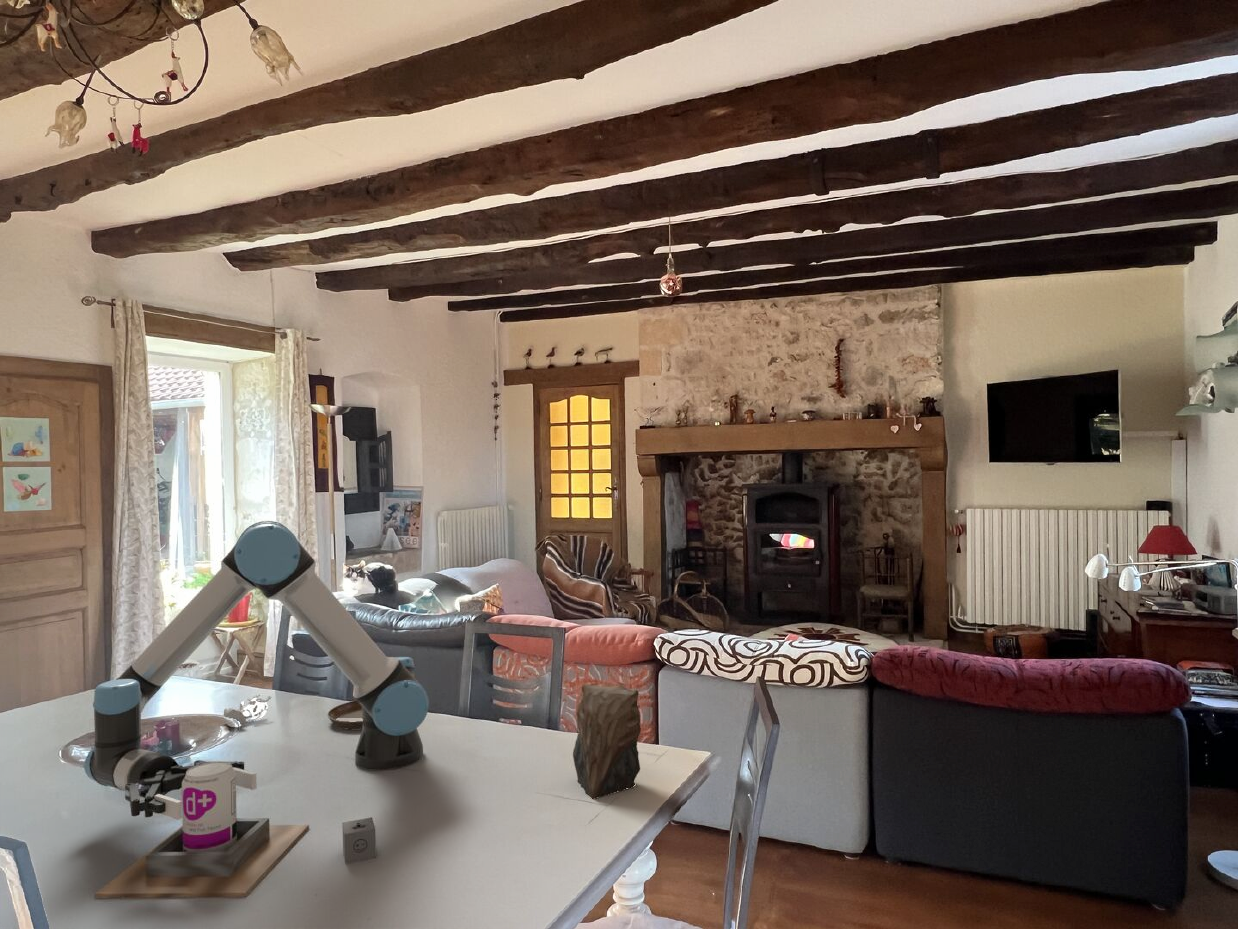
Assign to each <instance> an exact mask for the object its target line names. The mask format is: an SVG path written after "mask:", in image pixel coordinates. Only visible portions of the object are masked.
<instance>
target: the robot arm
mask: <svg viewBox="0 0 1238 929" xmlns="http://www.w3.org/2000/svg"><path fill="white" fill-rule="evenodd" d="M316 563H317V562H316V561H315V559H314V558H313V557H312V555H310V553H309V552H308V551H307V550H306V549H305V548H304V546H303V545H302V544H301V543H300V541H298V539H297V537H296V536H295V535H294V533H293V532H292V531H291V530H290V529H289V528H288V527H286V526H285V525H284V524H283V523H280V522H277V521H273V520H263V521H258V522H254V523H253V524H251V525H249V526H247V527H246V528H245V530H244V531H243V532H242V533H241V534H240V536H239V537H238V538H237V541H236V543H235V545H234V546H233V547H232V548H231V550H230V551H229V552H228V553H227V554H226V555H225V557H224V558H223V559H222V560H221V561H220V564H221V565H220V569H219V570H218V571H217V572H216V573H215V575H214V576H212V578H211V579H210V580H209V581H208V582H207V583H206V584H204V586H203V587H202V589H201V590H200V591H199V592H197V594H196V595H194V597H193V598H192V599H191V600H190V601H189V602H188V604H186V605H185V606H184V608H183V609H182V610H181V611H180V612H179V613H178V614H177V615H176V616H175V617H174V618H173V619H172V620H171V622H170V623H168V625H167V626H166V627H165V628H164V629H163V630H162V631H161V632H160V633H159V634H158V635H157V636H156V637H155V639H154V640H152V642H151V643H150V644H149V645H148V646H147V647H146V648H145V649H144V650H143V651H142V652H141V654H140V655H139V656H138V657H137V658H136V659H134V661H133V662H131V665H130V666H129V667H128V668H127V669H126V670H124V672H122V674H121V675H119V676H118V677H117V678H116V679H113V680H109V681H104V682H102V683H100V684H98V685H97V686H96V687H95V689H94V694H93V702H92V708H93V713H94V714H93V720H94V747H92V748H91V749H90V751H88V752H87V755H86V757H85V760H84V763H83V769H84V772H85V774H86V776H87V778H89V779H90V780H93V781H94V782H96V783H97V784H99V785H101V786H104V787H110V788H115V789H118V790H120V791H124V799H125V801H128V802H129V807H130V814H131V817H137V816H139V815H140V814H141V812H144V818H151V817H154V814H157V815H158V814H160V815H162V816H166V817H169V818H172V819H175V820H180V819H182V800H179V799H176V798H173V797H170V796H167V794H168V793H170V792H172V791H177V790H180V789H182V781H183V779H184V777H185V775H186V772H187V770H189V769H190V768H192V767H194V766H197V765H200V764H204V763H209V762H210V761H206V760H200V759H199V760H195V761H194V762H193V765H187V766H186V765H185V766H183V765H179V763H177V761H176V760H175V759H174V758H173V757H172V756H169V755H166V754H162V753H158V752H155V751H151V750H148V749H147V750H146V749H144V748H142V731H141V730H142V712H143V711H144V708H145V707H146V705H147V703H148V702H150V700H151V699H152V698H153V697H155V695H156V694H157V693H158V691H159V690H161V689H162V687H163V686H164V685H165V683H167V681H169V679H170V678H171V677H173V675H174V674H175V673H176V672H177V671H178V669H179V668H180V667H181V666H182V665H183V664H184V663H185V662H186V661H187V660H188V659H189V657H191V655H192V654H193V653H194V652H195V651H196V650H197V649H199V647H200V646H201V645H202V644H203V642H205V640H206V639H208V637H209V636H210V635H211V634H212V633H213V631H214V630H216V628H218V626H219V625H220V624H221V623H222V621H224V620H225V619H226V617H227V616H228V615H229V614H231V612H232V611H233V610H234V609H235V608H236V607H237V606H238V605H239V603H241V601H242V600H243V599H245V597H246V596H247V595H248V593H250V592H251V591H253V590H255V591H256V590H259V591H260V592H261V593H262V595H263V596H264V597H265V598H266V599H267V600H273V601H279V602H280V603H281V604H282V605H283V606H284V607H285V609H286V610H287V611H288V612H289V613H290V614H291V615H292V617H293V618H294V619H295V620H296V621H297V622H298V623H299V625H300V626H302V628H303V629H304V630H305V631H306V633H308V635H309V636H310V637H311V638H312V639H313V640H314V642H316V644H317V645H318V646H319V647H320V648H321V649H322V651H323V652H324V653H325V654H326V655H327V656H328V657H329V659H330V660H331V661H332V662H333V663H334V664H335V666H336V667H337V668H338V669H339V670H340V671H341V672H342V673H343V675H344V676H345V677H346V679H348V680H349V682H351V684H352V685H353V693H352V696H353V697H354V699H355V701H356V700H357V701H358V702H359V703H360V704H361V706H362V719H363V727H362V729H361V731H360V735H359V738H358V742H357V745H356V749H355V752H354V764H355V765H356V766H357V767H359V768H361V769H365V770H371V771H372V770H373V771H385V770H394V769H399V768H403V767H407V766H410V765H413V764H415V763H417V762H418V761H420V760H422V758H423V756H424V746H423V742H422V738H421V736H420V734H419V730H418V728H419V727H420V726H421V725H422V724H423V722H424V721H425V719H426V717H427V715H428V711H429V706H430V703H429V697H428V693H427V690H426V689H425V687H424V686H423V685H422V684H421V683H419V681H418V680H417V679H416V678H415V675H414V673H415V668H416V667H415V664H414V659H413V658H411V657H410V656H397V657H396V656H395V657H394V656H393V657H392V656H386V654H385V653H384V652H383V651H382V650H381V649H380V647H379V646H378V645H377V643H375V641H374V640H373V639H372V638H371V637H370V635H369V634H368V633H367V632H366V631H365V630H364V629H363V628H362V626H361V625H360V623H358V621H357V620H356V619H355V618H354V617H353V616H352V614H351V613H350V612H349V611H348V610H347V609H346V607H345V606H344V605H343V604H342V602H340V600H339V599H338V598H337V597H336V596H335V594H334V593H333V592H332V591H331V590H330V589H329V587H328V586H327V585H326V584H325V583H324V582H323V581H322V580H321V578H320V577H319V576H318V575H317V574H316V571H315V570H316ZM228 762H229V763H230V764H231V765H232V768H233V769H234V771H235V772H236V787H241V788H244V789H249V790H252V791H254V790H256V789H257V773H256V772H253V771H249V770H245V761H238V760H237V761H236V760H235V761H228ZM140 797H141V798H144V799H140Z"/></svg>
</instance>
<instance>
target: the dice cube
mask: <svg viewBox="0 0 1238 929" xmlns="http://www.w3.org/2000/svg"><path fill="white" fill-rule="evenodd" d="M341 823H342V828H341V829H342V854H343V859H344V864H350V863H354V862H355V863H356V862H359V861H364V860H365V861H366V860H370V859H375V858H376V857H377V854H376V853H377V852H376V849H377V847H376V845H377V844H376V825H375V822H374V819H373V817H367V818H360V819H354V820H350V821H344V822H341Z"/></svg>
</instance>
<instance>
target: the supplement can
mask: <svg viewBox="0 0 1238 929" xmlns="http://www.w3.org/2000/svg"><path fill="white" fill-rule="evenodd" d="M208 762H209V763H204V764H200V765H197V766H194V765H193V766H194V767H192V768H190V769H189V770H187V772H186V775H185V777H184V779H183V781H182V788H181V801H182V818H181V819H182V826H183V852H226V851H228V850H229V849H230V848H231V847H232V846H233V845H234V844H235V843H236V842H237V818H238V816H237V785H236V772H235V771H234V769H233V768H232V765H231V764H230V763H229V762H230V761H219V760H218V761H208Z"/></svg>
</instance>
